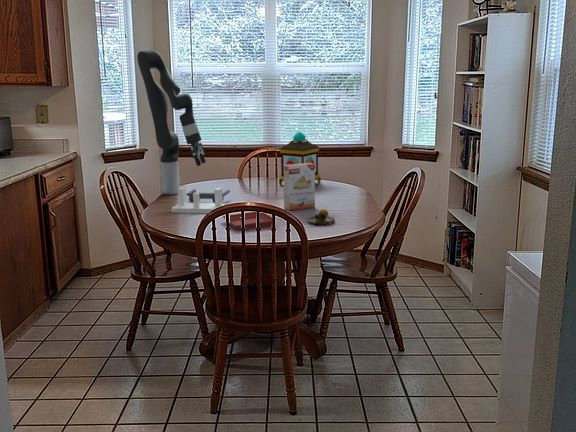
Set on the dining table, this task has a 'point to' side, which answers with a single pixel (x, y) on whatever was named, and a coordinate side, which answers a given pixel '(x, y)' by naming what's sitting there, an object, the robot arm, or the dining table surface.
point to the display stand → (196, 202)
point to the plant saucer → (250, 220)
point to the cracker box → (299, 186)
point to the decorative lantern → (299, 154)
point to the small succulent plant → (321, 218)
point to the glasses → (205, 195)
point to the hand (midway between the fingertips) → (201, 164)
